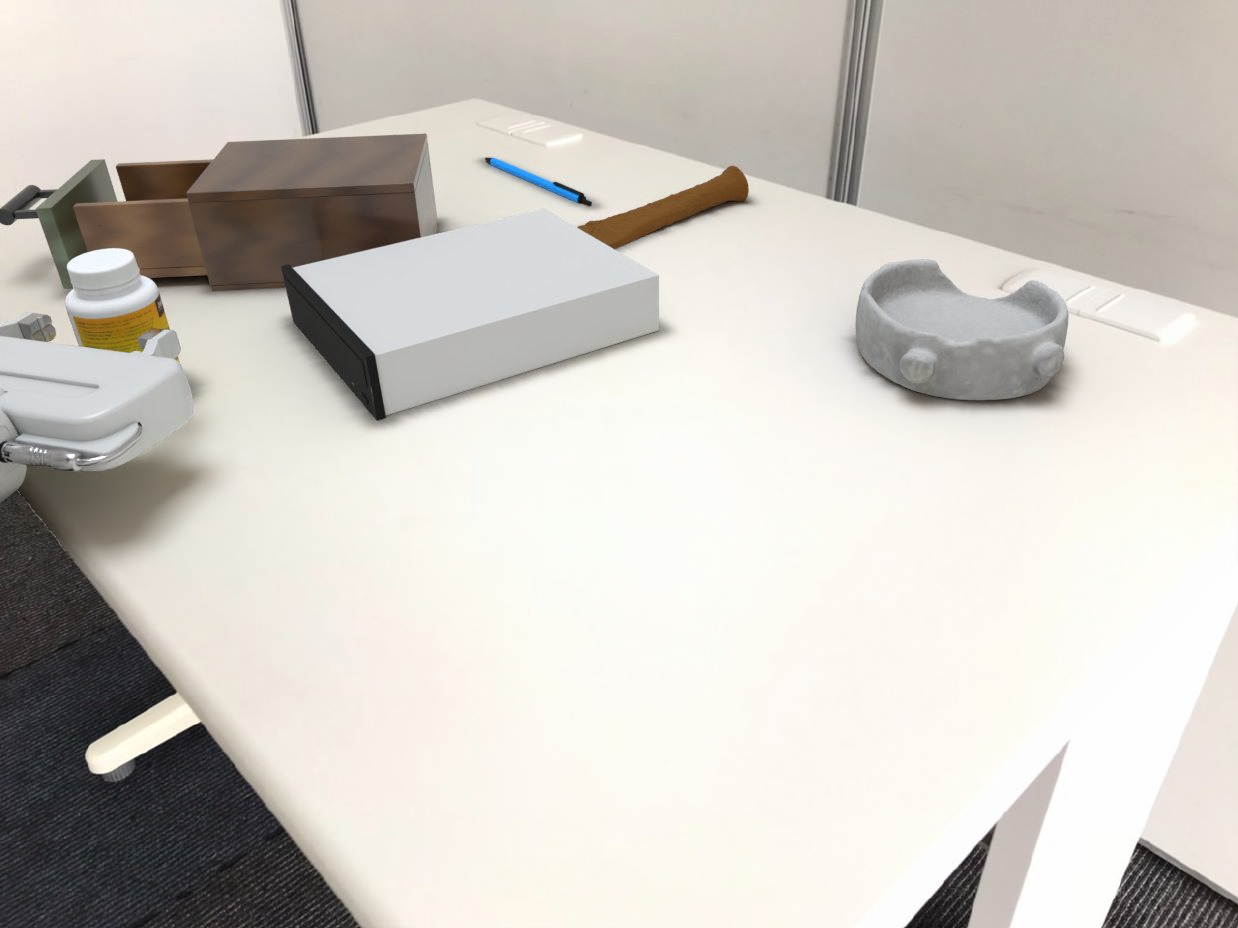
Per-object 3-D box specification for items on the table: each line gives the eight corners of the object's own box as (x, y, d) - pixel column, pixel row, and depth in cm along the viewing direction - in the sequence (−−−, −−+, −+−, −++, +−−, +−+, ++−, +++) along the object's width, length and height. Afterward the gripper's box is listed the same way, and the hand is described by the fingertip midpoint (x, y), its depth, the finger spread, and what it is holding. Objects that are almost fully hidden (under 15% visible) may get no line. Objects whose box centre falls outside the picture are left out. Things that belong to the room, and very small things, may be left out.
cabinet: (212, 295, 83) (185, 193, 78) (249, 234, 94) (227, 141, 90) (427, 284, 84) (413, 182, 79) (438, 225, 95) (426, 133, 91)
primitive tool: (601, 256, 88) (599, 217, 86) (563, 239, 92) (561, 202, 90) (753, 205, 98) (755, 169, 96) (714, 192, 102) (715, 157, 100)
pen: (586, 209, 98) (586, 197, 97) (481, 163, 110) (480, 153, 110) (594, 207, 98) (593, 195, 98) (488, 161, 111) (487, 151, 110)
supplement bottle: (200, 402, 69) (159, 261, 63) (116, 431, 66) (65, 285, 60) (173, 372, 72) (131, 236, 66) (91, 398, 69) (41, 258, 64)
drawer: (1, 292, 82) (-30, 211, 78) (59, 236, 92) (33, 162, 89) (268, 279, 83) (249, 199, 80) (296, 224, 94) (280, 151, 90)
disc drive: (292, 326, 78) (278, 265, 75) (546, 259, 88) (542, 204, 85) (375, 425, 66) (363, 357, 63) (660, 335, 76) (660, 273, 73)
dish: (855, 310, 78) (862, 249, 76) (1043, 325, 76) (1058, 262, 73) (847, 403, 67) (855, 336, 64) (1069, 425, 64) (1088, 355, 61)
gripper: (76, 420, 50) (236, 302, 60) (-244, 371, 54) (-41, 270, 65) (114, 521, 53) (259, 393, 64) (-189, 468, 58) (-6, 356, 69)
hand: (105, 331), depth 65 cm, fingers open, 8 cm apart
